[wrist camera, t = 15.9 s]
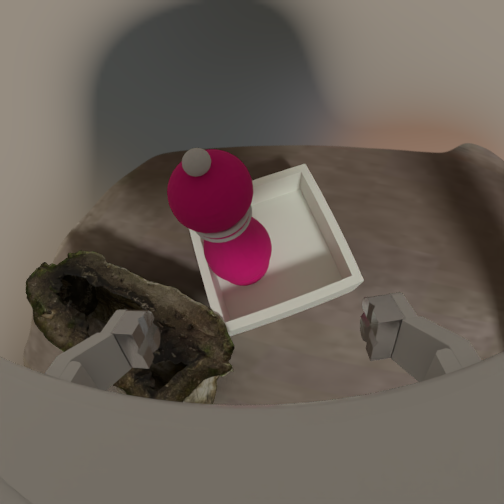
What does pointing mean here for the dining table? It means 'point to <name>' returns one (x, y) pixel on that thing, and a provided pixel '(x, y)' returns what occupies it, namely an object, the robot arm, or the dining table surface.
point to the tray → (285, 256)
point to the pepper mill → (221, 213)
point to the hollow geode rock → (133, 298)
